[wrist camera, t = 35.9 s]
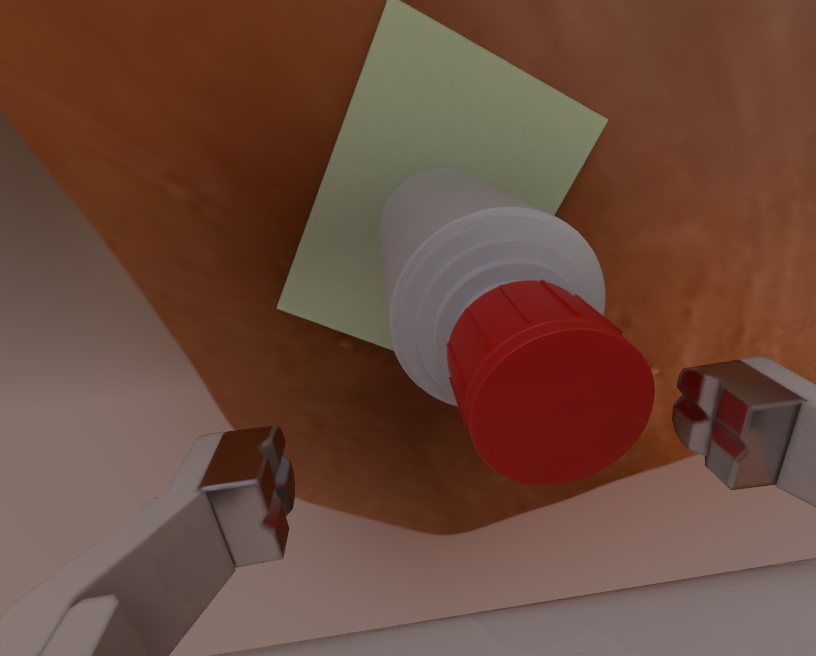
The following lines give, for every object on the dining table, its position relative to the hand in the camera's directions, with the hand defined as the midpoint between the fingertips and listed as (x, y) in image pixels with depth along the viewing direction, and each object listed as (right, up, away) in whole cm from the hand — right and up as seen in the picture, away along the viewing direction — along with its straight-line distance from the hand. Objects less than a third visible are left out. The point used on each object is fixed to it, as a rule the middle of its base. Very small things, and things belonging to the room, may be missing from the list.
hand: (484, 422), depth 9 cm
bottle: (0, +7, +15) cm, 16 cm away
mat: (0, +8, +15) cm, 17 cm away
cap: (+1, 0, 0) cm, 2 cm away
